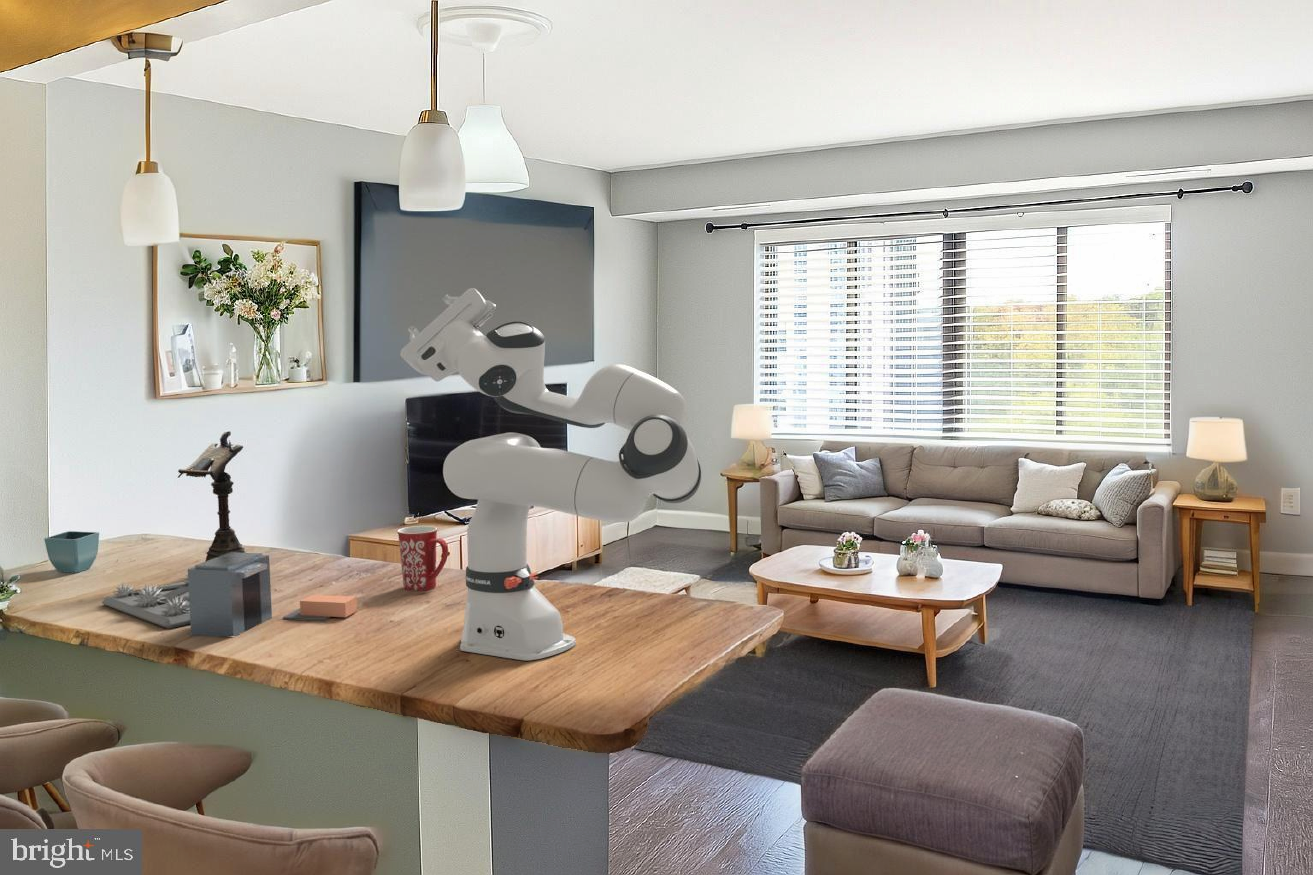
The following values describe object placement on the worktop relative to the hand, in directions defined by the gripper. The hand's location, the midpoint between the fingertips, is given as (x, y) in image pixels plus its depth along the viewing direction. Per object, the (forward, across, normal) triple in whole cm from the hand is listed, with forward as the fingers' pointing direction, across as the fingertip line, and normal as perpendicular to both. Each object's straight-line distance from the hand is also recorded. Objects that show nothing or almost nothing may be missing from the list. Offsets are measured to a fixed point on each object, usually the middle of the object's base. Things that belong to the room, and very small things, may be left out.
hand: (429, 313), depth 217 cm
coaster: (-15, +60, +26) cm, 67 cm away
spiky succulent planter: (+7, +81, +19) cm, 83 cm away
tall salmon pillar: (-13, +60, +24) cm, 66 cm away
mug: (-11, +43, +48) cm, 65 cm away
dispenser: (-13, +71, +15) cm, 74 cm away
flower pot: (+55, +104, +27) cm, 121 cm away
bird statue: (+27, +78, +37) cm, 90 cm away
